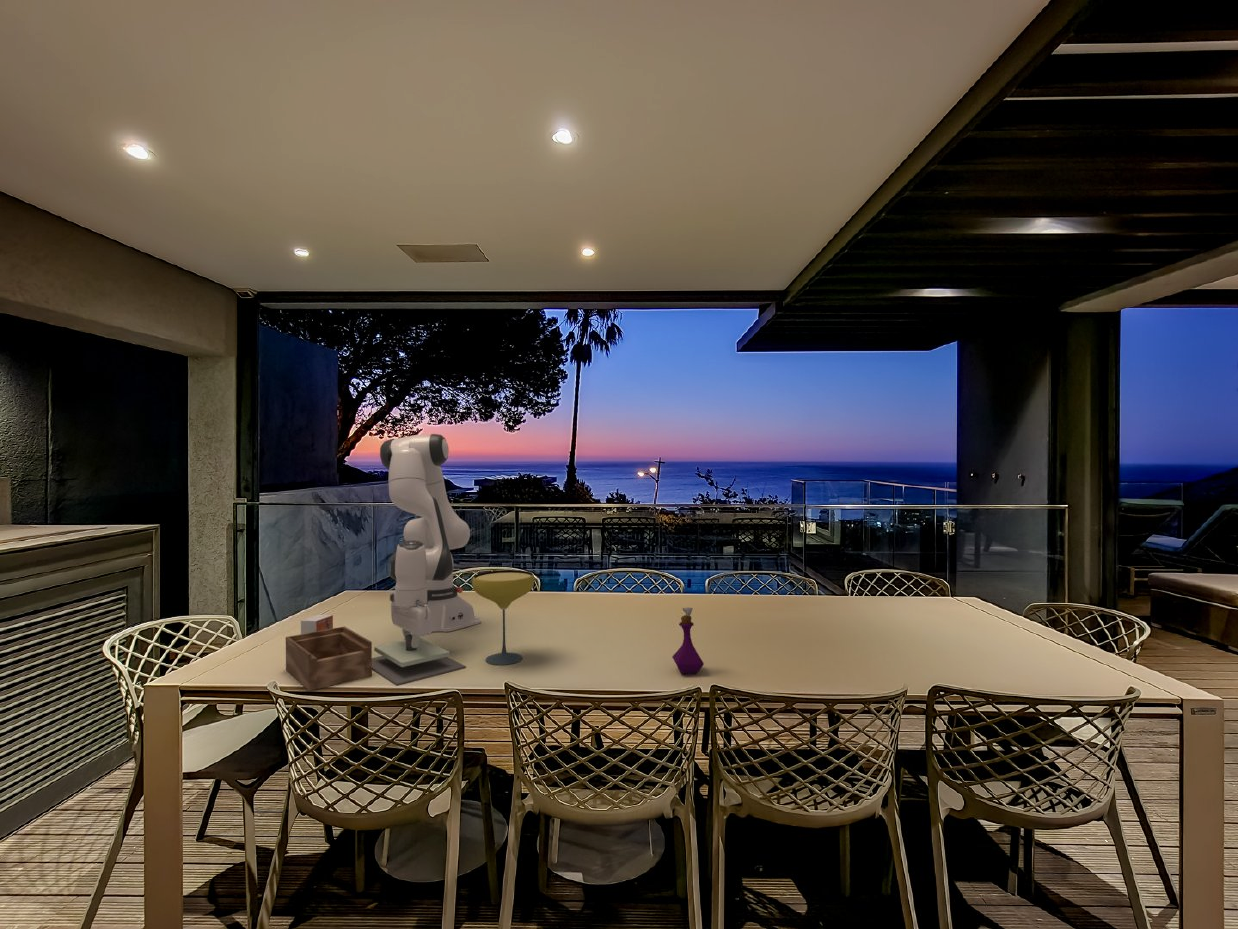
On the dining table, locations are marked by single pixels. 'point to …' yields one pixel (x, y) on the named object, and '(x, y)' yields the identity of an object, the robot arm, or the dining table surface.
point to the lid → (411, 652)
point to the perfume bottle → (687, 648)
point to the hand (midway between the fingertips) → (411, 645)
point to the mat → (413, 669)
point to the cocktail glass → (503, 600)
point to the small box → (317, 623)
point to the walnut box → (328, 657)
